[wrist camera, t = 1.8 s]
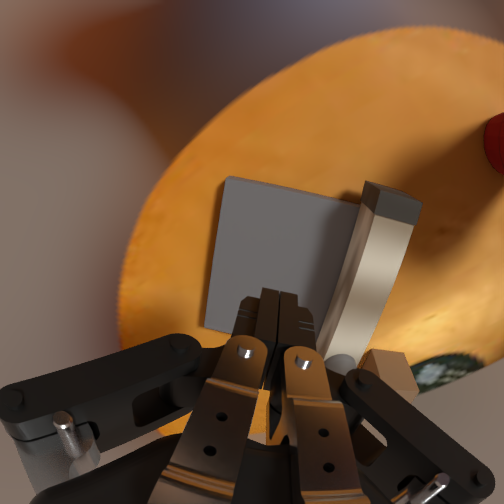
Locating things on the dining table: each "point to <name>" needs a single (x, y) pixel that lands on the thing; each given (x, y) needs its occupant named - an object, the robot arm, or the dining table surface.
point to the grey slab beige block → (288, 260)
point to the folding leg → (367, 274)
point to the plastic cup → (495, 142)
